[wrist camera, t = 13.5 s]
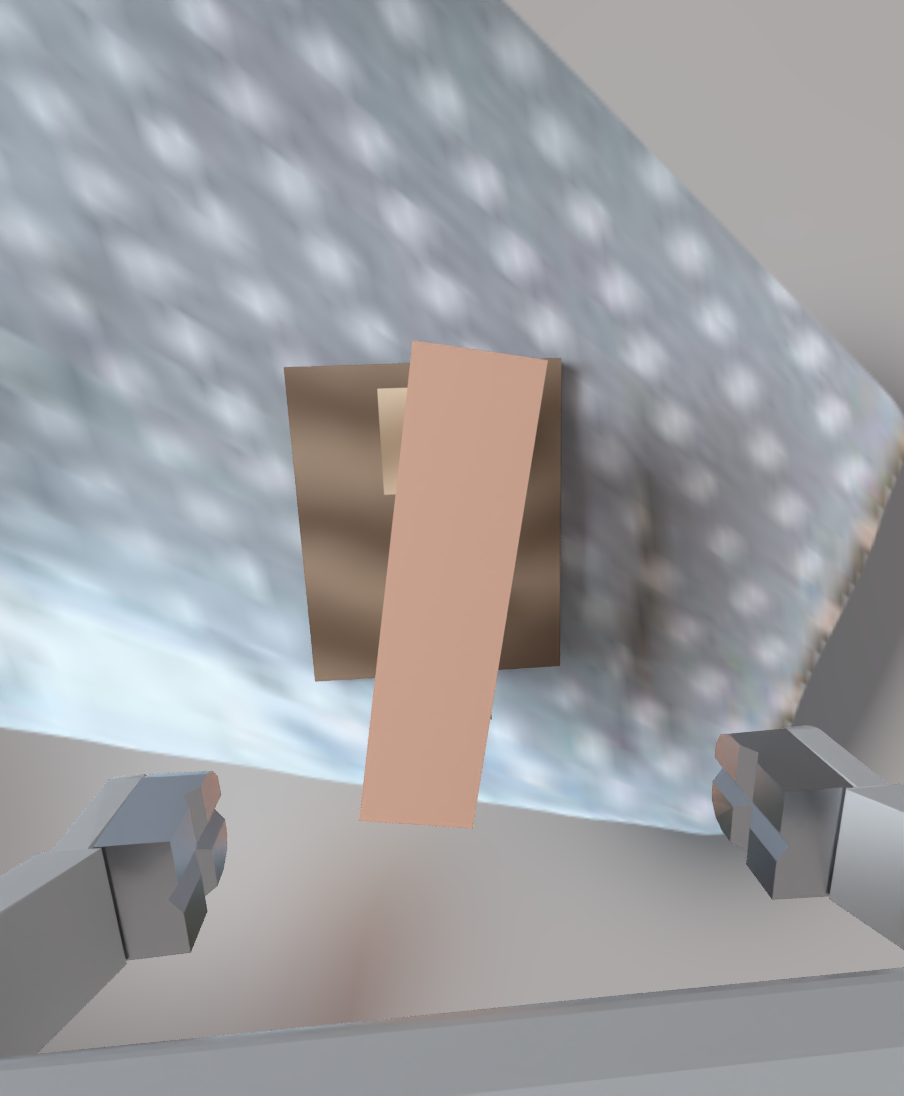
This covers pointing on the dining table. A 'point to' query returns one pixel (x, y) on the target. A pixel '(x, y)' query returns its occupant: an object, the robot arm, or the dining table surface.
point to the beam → (448, 580)
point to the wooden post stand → (368, 505)
